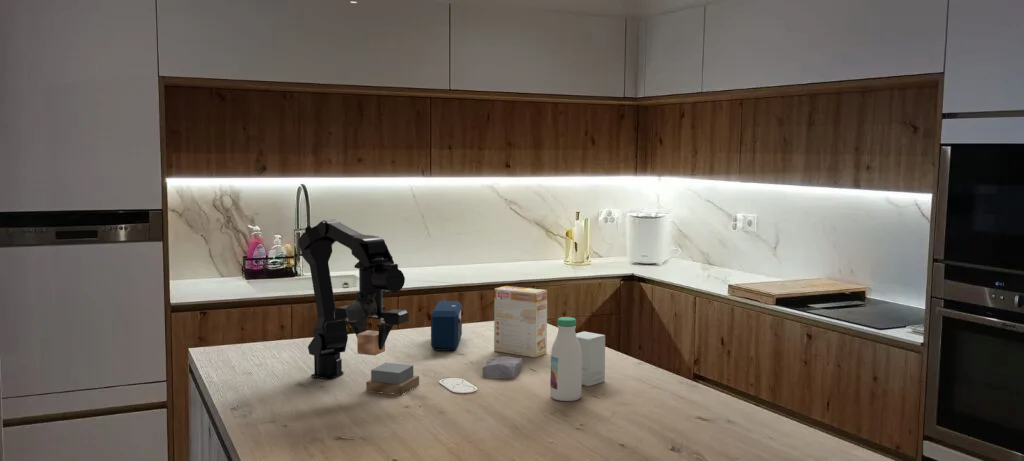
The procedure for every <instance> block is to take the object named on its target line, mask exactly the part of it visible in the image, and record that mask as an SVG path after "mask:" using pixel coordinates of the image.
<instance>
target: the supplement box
mask: <svg viewBox="0 0 1024 461" xmlns="http://www.w3.org/2000/svg"><path fill="white" fill-rule="evenodd" d="M575 333H576V332H575ZM576 336H577V339H578V341H579V344H580V347H581V352H582V383H581V386H582V385H583V386H587V387H591V386H595V385H598V384H600V383H603V382H605V380H606V335H605V334H601V333H594V332H589V331H585V330H584V331H580V332H577V333H576Z"/></svg>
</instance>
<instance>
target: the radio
mask: <svg viewBox="0 0 1024 461" xmlns="http://www.w3.org/2000/svg"><path fill="white" fill-rule="evenodd" d="M463 316H464V310H463V305H462V303H461V302H460V301H459V300H456V301H455V300H438V302H437V304H436V305H435V306H434V309H433V310H432V312H431V313H430V346H431V348H432V349H433V351H456V349H457V348H458V347H459V344H460V340H461V339H462V334H463V328H462V327H463V324H462V323H463V321H462V320H463Z"/></svg>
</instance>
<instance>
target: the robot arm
mask: <svg viewBox="0 0 1024 461" xmlns="http://www.w3.org/2000/svg"><path fill="white" fill-rule="evenodd" d="M336 242H337V243H338V244H340V245H343V246H344V247H346V248H347V249H350V251H351V255H352V256H353V257H355V259H357V260H358V262H356V263H355V264H354V269H358V271H359V272H358V275H359V276H358V279H359V281H358V282H359V284H358V285H359V288H358V289H359V291H356V295H355V300H353V301H351V303H350V304H345V305H342V306H338V307H336V303H335V296H334V290H333V284H332V278H331V271H330V266H329V265H330V264H329V261H330V259H331V256H332V254H333V245H334V244H335V243H336ZM298 247H299V249H300V254H301V256H302V258H303V259H304V261H305V262H306V263H307V264H308V265H309V268H310V269H309V270H310V275H311V283H312V289H313V294H314V300H315V308H316V312H317V320H316V323H315V325H314V328H313V338H312V339H311V341H310V342H309V344H308V345H307V349H308V355H310V356H313V357H314V358H313V362H314V363H313V366H314V369H313V370H314V371H313V372H314V373H312V374H311V375H310V376H311V377H312V378H319V379H330V380H332V379H334V378H337V377H339V376H341V375H343V374H344V371H343V370H342V369H343V367H342V366H343V362H342V358H341V353H345V352H346V348H347V345H348V344H347V343H348V339H349V332H348V330H347V324H348V325H349V326H350V327H351V328H352V329H353V331H354V333H355V336H356V337H357V334H359V333H362V332H364V331H367V319H374V320H375V319H376V320H380V323H377V324H376V325H375V326H376V327H377V329H378V331H379V349H380V350H381V349H382V348H383V346H384V344H385V345H386V341H387V339H388V336H389V334H390V332H391V330H392V328H393V326H394V325H395V326H398V325H401V324H405V323H406V322H407V323H408V322H409V321H410V320H409V318H410V316H409V313H408V311H407V310H406V309H396V308H394V309H391V310H387V311H386V306H385V305H383V304H384V303H383V300H384V299H383V295H386V291H387V292H392V293H397V292H400V291H401V290H402V289H403V287H404V285H405V282H406V277H405V275H404V273H403V271H402V270H401V269H399V264H397V263H395V262H394V259H393V255H392V254H391V253H390V250H389V248H388V246H387V244H386V242H385V239H384V238H383V237H380V236H378V235H377V236H376V235H373V234H371V235H370V234H362V233H361V232H358V231H357V230H355V229H353V228H351V227H349V226H347V225H345V224H344V223H342V222H341V221H340V220H337V219H323V220H321V221H319V222H318V223H317V224H316V225H315V226H313V227H311V228H309V229H307V230H305V231H304V232H303V233H302V234H301V236H300V237H299V239H298Z"/></svg>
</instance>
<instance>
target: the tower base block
mask: <svg viewBox="0 0 1024 461" xmlns="http://www.w3.org/2000/svg"><path fill="white" fill-rule="evenodd" d="M365 382H366V383H365V385H366V388H365V389H366V390H365V391H366V392H371V391H372V392H371V393H378V392H383V393H382V394H387V393H394V394H393V395H395V394H401V395H400V396H402V394H403V393H405V392H406V393H408V392H409V390H410V389H411V390H413V389H414V387H415V388H416V387H418V386H420V376H419V375H414V374H413V377H412V378H410V379H408V380H407V381H405V382H403V383H401V384H400V385H399V384H390V383H381V382H372V381H371V379H370V380H368V381H365ZM412 388H413V389H412ZM411 390H410V391H411ZM407 391H408V392H407ZM406 393H405V394H406ZM403 395H404V394H403Z"/></svg>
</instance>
